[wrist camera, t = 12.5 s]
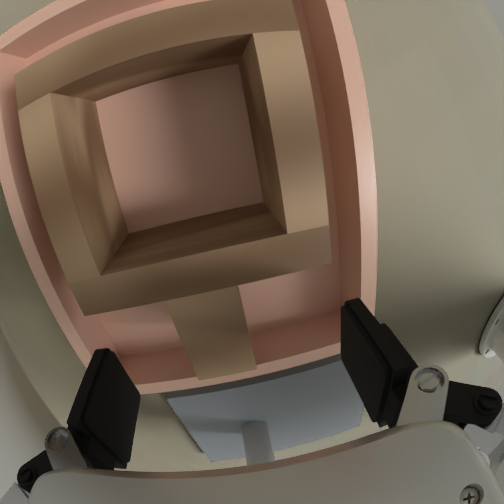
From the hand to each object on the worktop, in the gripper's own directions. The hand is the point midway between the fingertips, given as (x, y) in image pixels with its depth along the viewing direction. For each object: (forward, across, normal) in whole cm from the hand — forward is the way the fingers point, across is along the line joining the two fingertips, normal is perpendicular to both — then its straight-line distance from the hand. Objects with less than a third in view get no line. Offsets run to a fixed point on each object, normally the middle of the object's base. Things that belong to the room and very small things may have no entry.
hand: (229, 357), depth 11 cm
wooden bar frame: (+7, +1, -5) cm, 8 cm away
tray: (+7, +1, -6) cm, 9 cm away
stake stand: (+8, -1, +16) cm, 18 cm away
